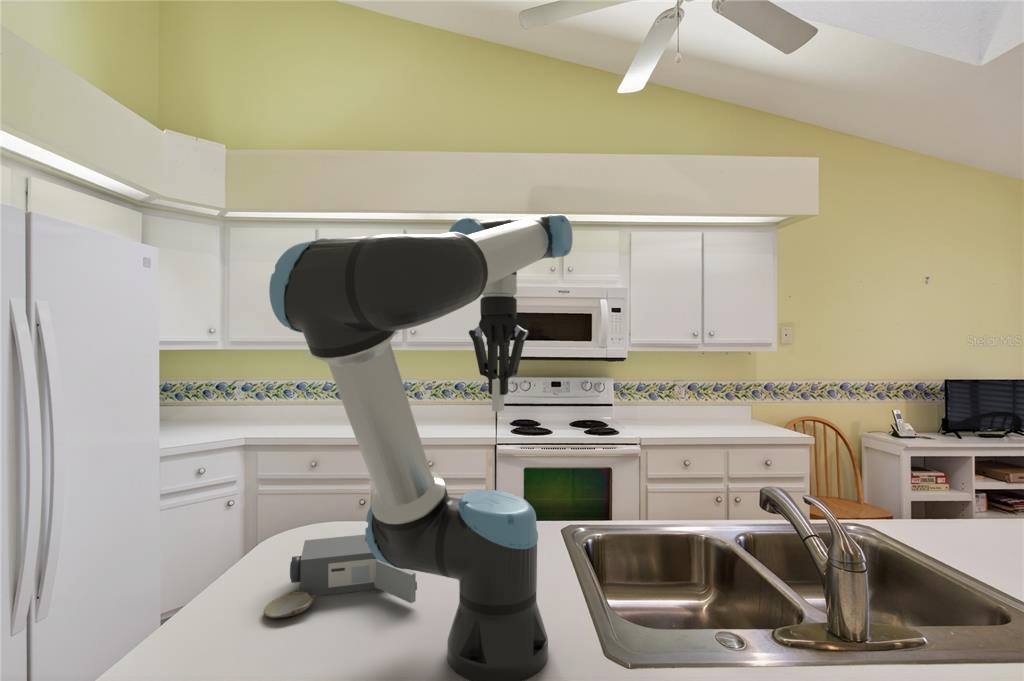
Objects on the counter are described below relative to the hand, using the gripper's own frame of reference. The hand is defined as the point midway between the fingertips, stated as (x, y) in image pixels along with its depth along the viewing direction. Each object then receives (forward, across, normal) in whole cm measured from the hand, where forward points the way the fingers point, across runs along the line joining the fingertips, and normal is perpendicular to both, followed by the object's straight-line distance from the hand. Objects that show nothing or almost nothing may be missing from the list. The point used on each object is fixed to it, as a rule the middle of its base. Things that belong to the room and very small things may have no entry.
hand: (498, 410), depth 113 cm
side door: (+31, +11, +20) cm, 39 cm away
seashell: (+33, +25, +31) cm, 52 cm away
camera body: (+32, +25, +19) cm, 45 cm away
